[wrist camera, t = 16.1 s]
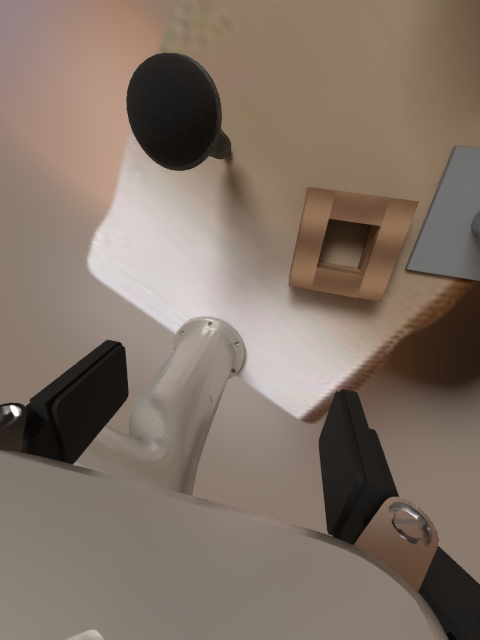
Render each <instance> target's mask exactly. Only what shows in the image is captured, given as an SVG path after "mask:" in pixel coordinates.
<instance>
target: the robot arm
mask: <svg viewBox="0 0 480 640" xmlns="http://www.w3.org/2000/svg"><path fill="white" fill-rule="evenodd" d="M211 322H212V323H211ZM237 342H238V343H237ZM244 356H245V350H244V345H243V342H242V340H241V338H240V336H239V334H238V333H237V332H236V331H235V330H234V329H233V328H232V327H231V326H230V325H228V324H227V323H225V322H223V321H221V320H219V319H216V318H211V317H198V318H194V319H191V320H189V321H188V322H186V323H185V324H184V325H183V326H182V327H181V328H180V329H179V330H178V332H177V334H176V336H175V339H174V352H173V353H172V354H171V356H170V357H169V358H168V360H167V361H166V362H165V364H164V365H163V366H162V367H161V369H160V370H159V371H158V373H157V374H156V375H155V376H154V378H153V379H152V381H151V382H150V383H149V384H148V386H147V387H146V388H145V390H144V391H143V392H142V394H141V395H140V396H139V397H138V399H137V401H136V402H135V405H134V406H133V409H132V412H131V416H130V424H129V435H127V434H124V433H122V432H120V431H119V430H117V429H115V428H113V427H111V426H110V425H107V423H108V422H109V420H110V419H111V418H112V417H113V416H114V414H115V413H116V412H117V411H118V410H119V408H120V407H121V406H122V405H123V403H124V402H125V401H126V399H127V397H128V393H129V392H128V379H127V366H126V353H125V347H123V346H122V344H121V343H120V342H116V341H111V340H106V341H105V342H103V343H102V344H101V345H100V346H98V347H97V348H96V349H94V350H93V351H92V352H91V353H89V354H88V355H87V356H85V357H84V358H83V359H81V360H80V361H79V362H78V363H76V364H75V365H74V366H72V367H71V368H70V369H69V370H67V371H66V372H65V373H64V374H62V375H61V376H60V377H58V378H57V379H56V380H54V381H53V382H52V383H51V384H49V385H48V386H47V387H45V388H44V389H43V390H41V391H40V392H39V393H38V394H36V395H35V396H34V397H33V398H31V399H30V403H29V404H28V405H27V406H24V405H23V404H20V403H4V404H1V405H0V640H480V584H479V583H478V582H476V581H475V580H474V579H473V578H472V577H471V576H470V575H469V574H468V573H467V572H466V571H465V570H463V569H462V567H460V566H459V565H458V564H457V563H456V562H455V561H454V560H453V559H452V558H451V557H450V556H449V555H448V554H446V552H444V551H443V550H442V549H441V548H440V547H439V546H438V543H439V538H438V533H437V531H436V528H435V526H434V524H433V522H432V521H431V520H430V518H429V517H428V516H427V514H426V513H424V512H423V511H422V510H421V509H420V508H419V507H418V506H416V505H415V504H414V503H412V502H411V501H408V500H406V499H404V498H400V497H399V495H398V493H397V490H396V487H395V484H394V481H393V478H392V475H391V473H390V470H389V467H388V464H387V461H386V458H385V455H384V452H383V450H382V447H381V444H380V441H379V438H378V435H377V433H376V431H375V430H374V429H369V427H368V424H367V421H366V417H365V414H364V411H363V408H362V405H361V402H360V399H359V396H358V393H357V392H354V391H350V390H345V389H342V390H341V391H340V392H336V393H335V396H334V398H333V401H332V404H331V407H330V410H329V412H328V415H327V418H326V421H325V424H324V427H323V429H322V432H321V435H320V439H319V453H320V462H321V473H322V482H323V493H324V502H325V512H326V522H327V531H328V534H330V535H333V537H332V536H329V535H326V534H323V533H320V532H317V531H314V530H311V529H307V528H304V527H301V526H297V525H294V524H290V523H287V522H284V521H280V520H277V519H273V518H270V517H266V516H263V515H259V514H255V513H252V512H248V511H244V510H241V509H237V508H234V507H230V506H226V505H223V504H219V503H215V502H211V501H208V500H204V499H201V498H197V497H193V496H192V494H193V488H194V481H195V477H196V472H197V467H198V463H199V460H200V456H201V453H202V450H203V447H204V443H205V441H206V437H207V435H208V432H209V429H210V427H211V424H212V421H213V418H214V415H215V413H216V410H217V407H218V404H219V401H220V399H221V395H222V393H223V390H224V388H225V385H226V382H227V379H229V378H231V377H233V376H234V375H235V374H236V373H237V372H238V371H239V370H240V368H241V366H242V364H243V361H244Z"/></svg>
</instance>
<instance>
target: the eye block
mask: <svg viewBox="0 0 480 640" xmlns="http://www.w3.org/2000/svg"><path fill="white" fill-rule="evenodd" d="M418 203H419V202H417V201H410V200H402V199H395V198H387V197H379V196H372V195H364V194H357V193H349V192H342V191H334V190H326V189H319V188H311V187H309V188H308V189H307V194H306V199H305V204H304V208H303V213H302V218H301V223H300V227H299V232H298V237H297V242H296V247H295V251H294V256H293V261H292V266H291V270H290V275H289V286H291V287H297V288H303V289H309V290H314V291H320V292H326V293H332V294H338V295H343V296H349V297H355V298H361V299H367V300H372V301H378V302H381V300H382V297H383V294H384V292H385V289H386V287H387V284H388V281H389V279H390V276H391V273H392V271H393V268H394V266H395V263H396V260H397V258H398V255H399V252H400V250H401V247H402V245H403V242H404V239H405V237H406V234H407V231H408V229H409V226H410V224H411V221H412V218H413V216H414V213H415V210H416V208H417V205H418ZM329 219H335V220H342V221H349V222H356V223H363V224H370V225H371V228H370V231H369V234H368V237H367V240H366V244H365V247H364V250H363V253H362V256H361V259H360V262H359V265H358V268H354V267H348V266H342V265H335V264H329V263H323V262H318V260H319V256H320V252H321V248H322V244H323V240H324V236H325V232H326V228H327V224H328V220H329Z"/></svg>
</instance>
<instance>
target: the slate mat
mask: <svg viewBox="0 0 480 640" xmlns="http://www.w3.org/2000/svg"><path fill="white" fill-rule="evenodd" d="M479 211H480V148H472V147H462V146H455V147H454V148H453V151H452V153H451V156H450V158H449V161H448V163H447V166H446V168H445V171H444V173H443V176H442V178H441V181H440V183H439V186H438V188H437V191H436V193H435V196H434V198H433V200H432V203H431V205H430V208H429V210H428V213H427V215H426V218H425V220H424V223H423V225H422V228H421V230H420V233H419V235H418V238H417V240H416V243H415V245H414V248H413V250H412V253H411V255H410V258H409V260H408V263H407V265H406V269H408V270H415V271H421V272H427V273H434V274H440V275H446V276H452V277H459V278H465V279H471V280H478V281H480V238H477V237H476V236H475V235H474V234H473V233H472V229H471V224H472V221H473V219H474V217H475V215H476V214H477V213H478V212H479Z"/></svg>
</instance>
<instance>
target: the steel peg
mask: <svg viewBox="0 0 480 640" xmlns="http://www.w3.org/2000/svg"><path fill="white" fill-rule="evenodd" d="M471 229H472V233H473V234H474V235H475V236H476V237H477V238H480V211H479V212H478V213H477V214H476V215H475V217H474V219H473V221H472V224H471Z"/></svg>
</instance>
